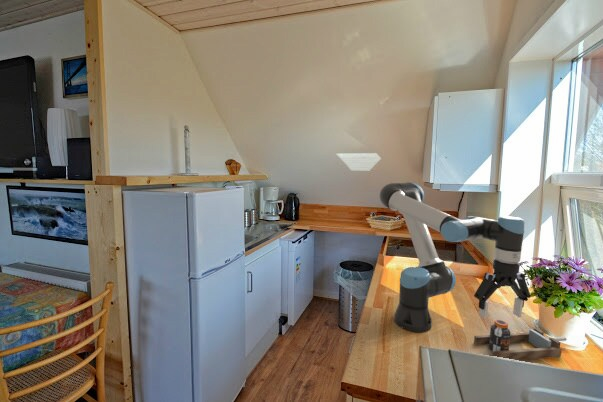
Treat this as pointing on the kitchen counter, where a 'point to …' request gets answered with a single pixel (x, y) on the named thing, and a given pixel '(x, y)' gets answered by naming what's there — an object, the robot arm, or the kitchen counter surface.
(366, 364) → the kitchen counter surface
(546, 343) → the pusher
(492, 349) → the pill bottle
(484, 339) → the lane
